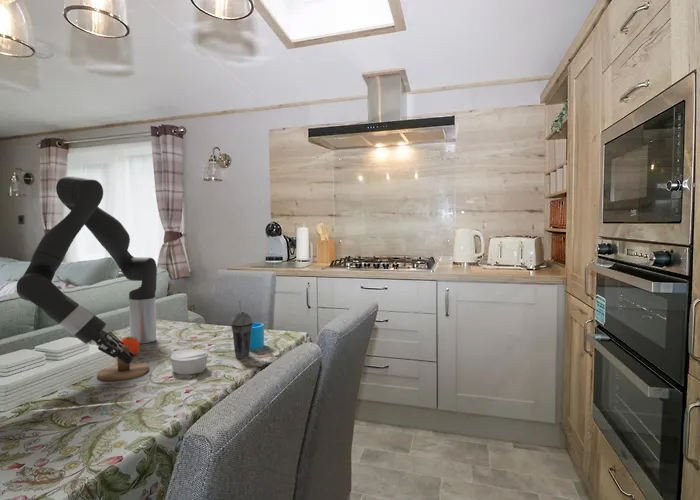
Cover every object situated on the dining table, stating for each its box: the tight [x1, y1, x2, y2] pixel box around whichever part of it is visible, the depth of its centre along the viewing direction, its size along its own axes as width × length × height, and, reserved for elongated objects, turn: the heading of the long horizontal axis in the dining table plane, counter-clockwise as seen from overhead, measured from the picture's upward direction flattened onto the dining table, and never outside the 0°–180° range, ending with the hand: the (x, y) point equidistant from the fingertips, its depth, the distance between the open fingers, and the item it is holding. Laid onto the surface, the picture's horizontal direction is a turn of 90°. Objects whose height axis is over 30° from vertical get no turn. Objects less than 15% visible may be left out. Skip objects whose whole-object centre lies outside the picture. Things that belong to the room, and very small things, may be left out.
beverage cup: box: [230, 299, 254, 360], centre depth 142 cm, size 7×7×20 cm
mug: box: [250, 322, 265, 350], centre depth 156 cm, size 12×8×8 cm
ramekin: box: [170, 348, 209, 375], centre depth 128 cm, size 11×11×5 cm
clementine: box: [120, 336, 141, 356], centre depth 142 cm, size 8×7×7 cm
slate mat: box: [84, 362, 158, 387], centre depth 125 cm, size 16×16×1 cm
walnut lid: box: [96, 346, 149, 382], centre depth 124 cm, size 14×14×8 cm
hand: (131, 359), depth 125 cm, fingers closed on walnut lid, 3 cm apart
